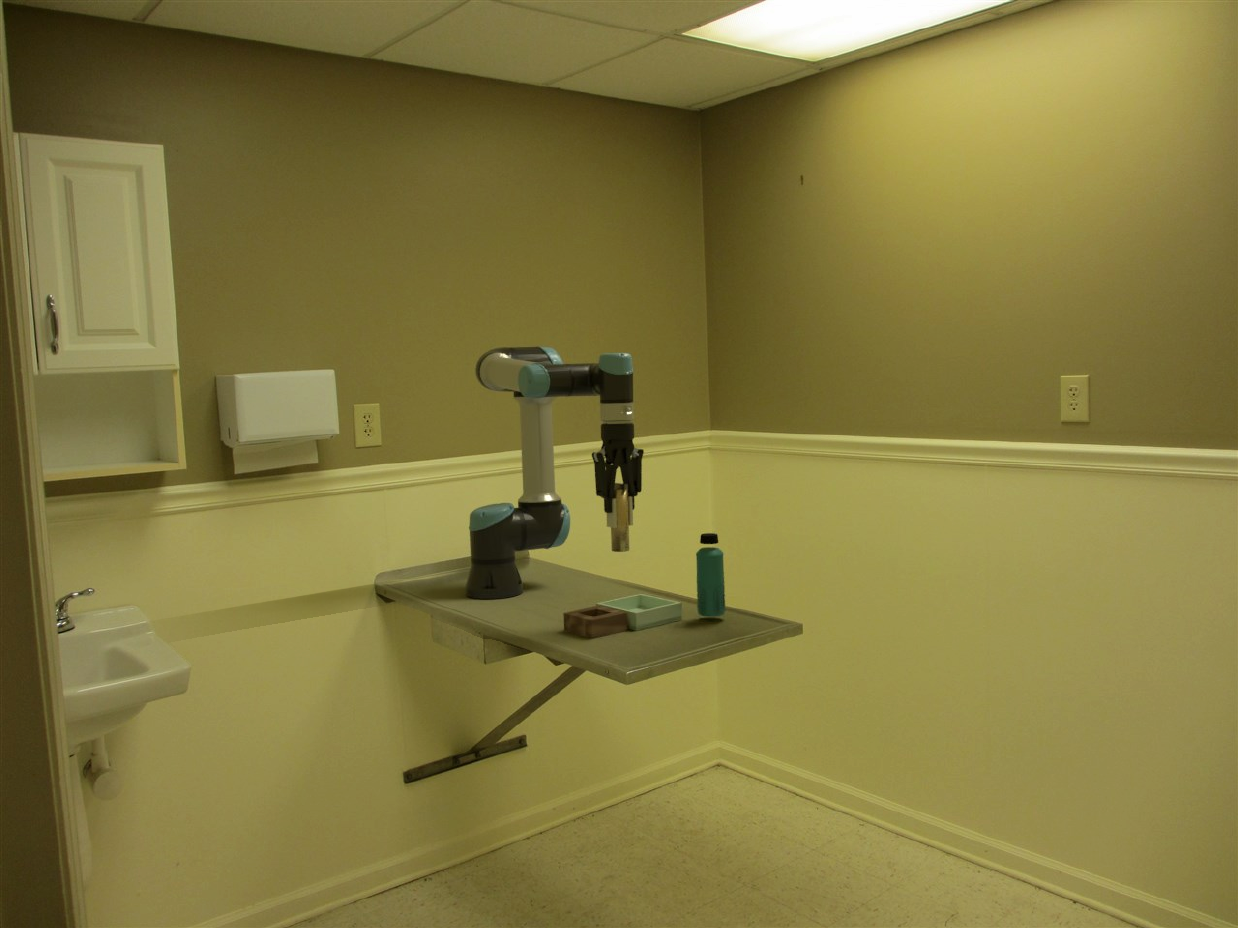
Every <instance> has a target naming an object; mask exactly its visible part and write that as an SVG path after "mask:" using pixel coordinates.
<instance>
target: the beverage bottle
mask: <svg viewBox="0 0 1238 928" xmlns="http://www.w3.org/2000/svg"><path fill="white" fill-rule="evenodd" d="M718 537H719V536H718V533H715V532H712V533H711V532H707V533H701V534H700V539H699V540H700V541H699V543H700V544H703V545H715V544H719V538H718ZM695 556H696V558H695V559H696V586H695V587H696V592H697V593H696V597H697V598H696V600H697V604H696V607H697V613H698V615H699V616H703V617H711V618H712V617H713V618H714V617H721V616H723V615H725V613H726V609H727V608H726V594H725V593H726V592H725V591H726V589H725V588H726V586H725V585H726V584H725V568H724V565H725V564H724V552H723V551H722V550H721V549H720V548H719V547H715V546H714V547H713V546H708V547H702V548H699V550H697V552H696V553H695Z"/></svg>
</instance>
